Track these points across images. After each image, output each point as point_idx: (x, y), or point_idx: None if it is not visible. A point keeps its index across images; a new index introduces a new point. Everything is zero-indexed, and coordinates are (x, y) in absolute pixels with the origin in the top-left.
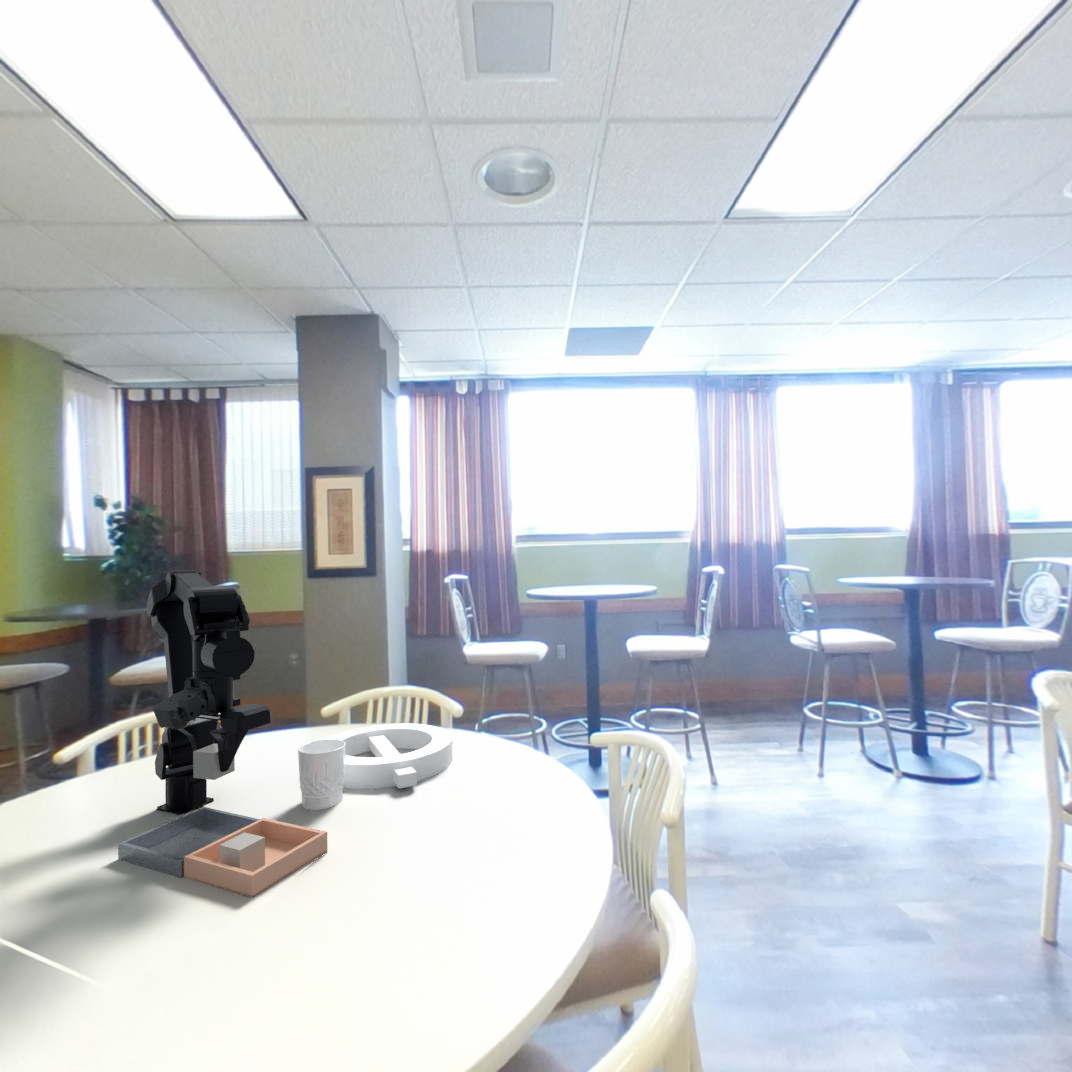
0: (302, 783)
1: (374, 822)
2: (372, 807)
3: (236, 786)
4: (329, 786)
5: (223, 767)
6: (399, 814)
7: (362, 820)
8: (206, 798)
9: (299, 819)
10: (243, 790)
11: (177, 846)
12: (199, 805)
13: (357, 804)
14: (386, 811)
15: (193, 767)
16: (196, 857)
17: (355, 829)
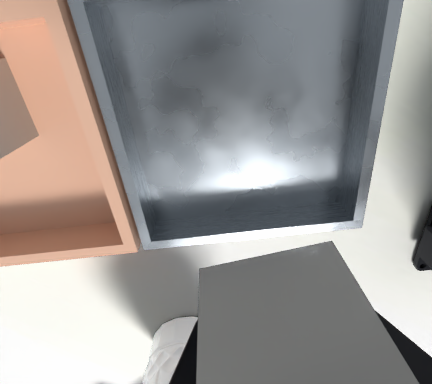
0: None
1: (34, 333)
2: (96, 358)
3: (425, 316)
4: (144, 377)
5: (188, 342)
6: (32, 361)
7: (59, 330)
8: (423, 260)
9: (163, 292)
10: (393, 313)
11: (281, 98)
12: (421, 239)
13: (130, 356)
14: (61, 359)
15: (356, 283)
16: (14, 15)
17: (32, 309)
